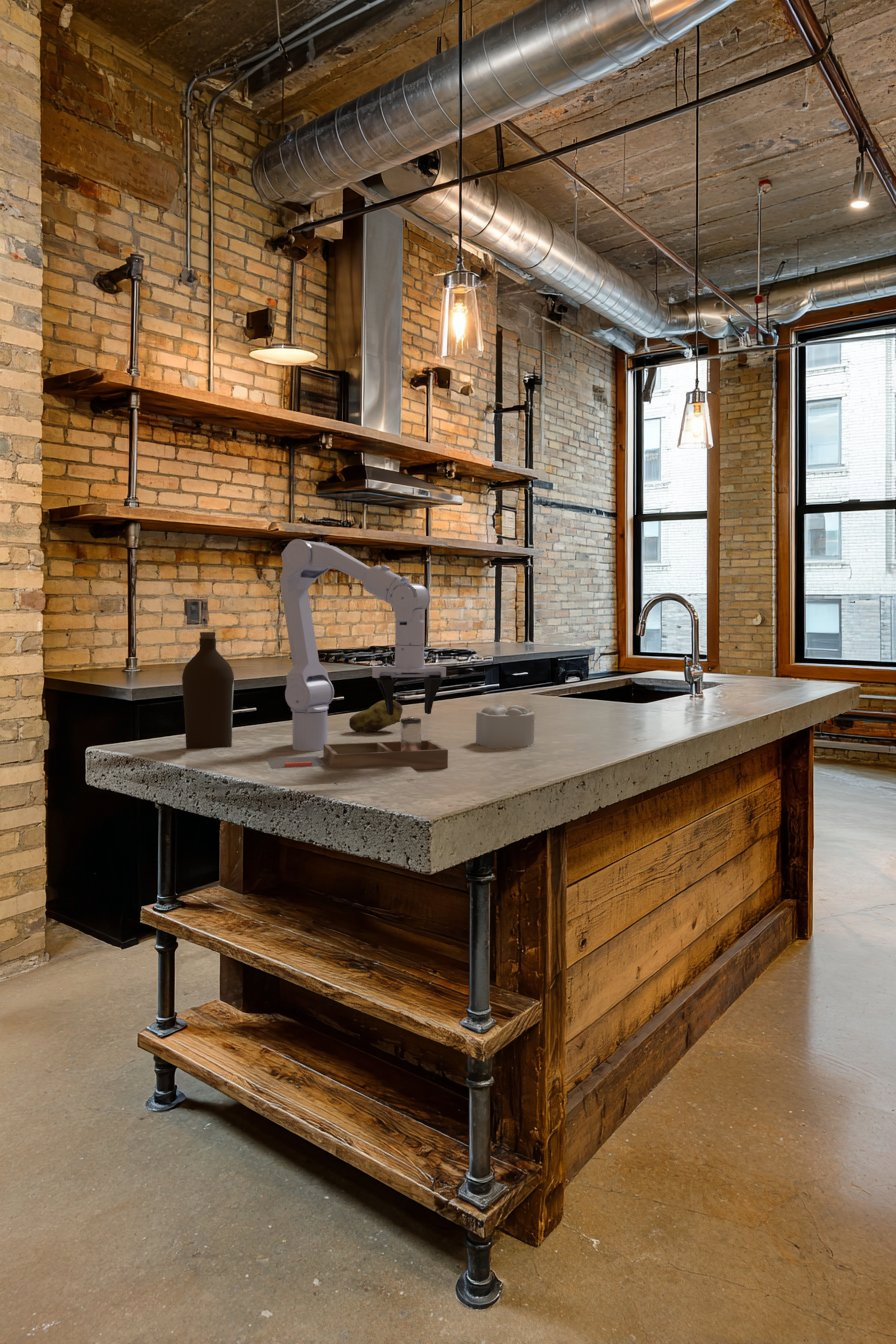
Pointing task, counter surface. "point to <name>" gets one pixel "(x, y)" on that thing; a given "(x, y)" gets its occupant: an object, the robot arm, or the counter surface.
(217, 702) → the olive oil
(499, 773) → the counter surface
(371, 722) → the potato
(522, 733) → the lumpy-topped squat cylinder
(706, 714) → the counter surface
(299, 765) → the grey square base plate
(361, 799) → the counter surface
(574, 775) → the counter surface
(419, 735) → the cell
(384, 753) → the sorting tray
